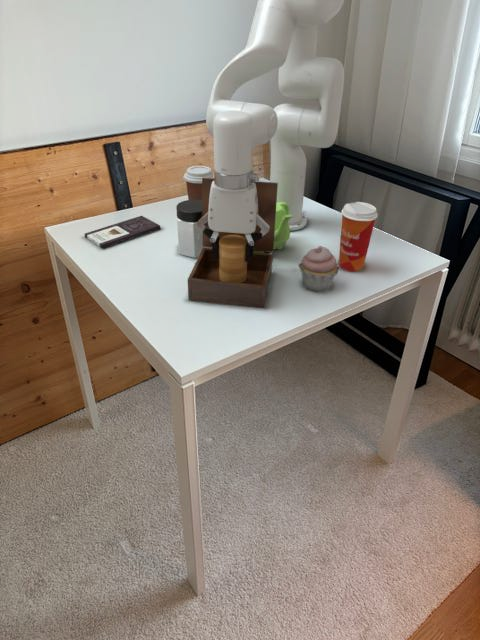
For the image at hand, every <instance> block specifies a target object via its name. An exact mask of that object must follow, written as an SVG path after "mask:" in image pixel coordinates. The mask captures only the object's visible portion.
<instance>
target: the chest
mask: <svg viewBox="0 0 480 640" xmlns="http://www.w3.org/2000/svg"><path fill="white" fill-rule="evenodd" d="M273 259H274V253H270V252H264V253H258V252H254V256H253V257H251V258H250V261H249V262H247V279H246V280H245V281H244V282H243V283H237V282H227V281H221V280H220V278H219V258H218V259H215V254H213V253H212V247H210V248H203V249H202V251H201V253H200V255H199V257H197V260H196V262H195V263H194V265H193V268H192V269H191V272H190V274H189V276H188V277H187V296H188V297H187V298H188V301H190V302H201V303H208V304H209V303H211V304H218V305H229V306H239V307H248V308H250V307H251V308H258V309H259V308H260V309H265V306H266V303H267V298H268V293H269V288H270V284H271V279H272V275H273V264H274V263H273V261H274V260H273Z"/></svg>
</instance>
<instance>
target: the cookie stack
mask: <svg viewBox="0 0 480 640" xmlns="http://www.w3.org/2000/svg"><path fill="white" fill-rule="evenodd" d="M246 245H247V239H246V238H245V237H243V236H239V235H227V236H224V237H222V238H220V239H219V278H220V280H221V281H227V282H237V283H243V282H244V281H245V280H246V279H247V261H246Z"/></svg>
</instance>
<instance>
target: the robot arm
mask: <svg viewBox="0 0 480 640" xmlns="http://www.w3.org/2000/svg"><path fill="white" fill-rule="evenodd" d="M344 2H345V0H257V3H256V7H255V11H254V14H253V18H252V23H251V26H250V30H249V34H248V37H247V41H246V45H245V47H244V48H243V49H242V50H241V51H240V52H239V53H237V54H236V55H235V56H234V57H233V58H232V59H230V61H229V62H228V63H227V64H226V65H225V66H224V67H223V68H222V70H221V71H219V73H218V75H217V77H216V78H215V80H214V83H213V86H212V88H211V93H210V96H209V101H208V103H207V109H206V115H205V125H206V129H207V131H208V133H209V135H210V136H212V137H213V173H214V181H213V182H212V184H211V189H210V197H209V210H208V212H207V213H206V214H205V215H204V216H203V217H202V218H201V219H199V220H198V222H197V226H198V227H199V228H200V229H201V230H202V231H203V232H204V234H205V235H206V236H207V237H208V238H209V239H210V241H211V242H212V247H211V248H212V253H213V254H215V259H218V258H219V239H220V237H219V236H218V234H219V232H227V233H240V234H245V236H246V239H247V241H248V242H247V245H246V261H247V262H249V261H250V258H251V257H253V256H254V243H256V242H257V241H258V240H259V239H261V238H262V236H264V235H265V234H266V233H267V232H269V230H270V226H269V225H268V224H267V223H266V222H265V221H264V220H263V219H262V218H261V217H260V216H259V215H258V198H257V189H256V184H255V183H254V182H253V181H260V173H256V172H254V169H253V148H254V147H258V146H262V145H265V144H267V143H268V142H270V171H269V172H270V173H269V182H274V183H278V189H277V203H278V202H285V203H286V204H287V205H288V206H289V213H288V215H292V216H293V217H291V218H290V219H289V221H288V222H289V228H290V232H291V231H292V232H293V231H298V230H301V229H303V228H304V227H305V226H306V225H307V224H308V218H307V217H306V215H304V214H303V206H304V196H305V184H306V174H307V165H308V164H307V157H306V153H305V152H304V150H303V148H302V147H310V148H319V149H327V148H330V147H332V146H333V145H334V143H335V142H336V139H337V137H338V131H339V126H340V125H339V124H340V118H341V109H342V103H343V102H342V101H343V93H344V85H345V68H344V65H343V63H342V62H341V61H340V59H337V58H334V57H330V56H329V57H327V56H317V43H318V29H317V27H322V26H325V25H326V24H328V23H329V22H330V21H331V20H332V19H333V18H334V17H335V16H336V15H338V13H339V12H340V10H341V9H342V8H343V7H342V6H343V5H344V4H345V3H344ZM277 70H278V75H277V76H278V77H277V79H278V81H277V82H278V90H279V93H280V94H281V95H282V96H284V97H286V98H291V99H297V100H298V99H299V100H306V101H307V100H308V101H316V102H319V103H320V106H317V105H308V104H307V105H306V104H300V103H298V104H297V103H281V104H278V105H276V106H274V108H273V107H272V106H270V105H268V104H264V103H256V102H248V101H240V100H231V99H232V97H233V96H234V94H235V93H236V91H238V89H239V88H240V87H242V86H243V85H244V84H246V83H248V82H251V80H255V79H257V78H259V77H261V76H264V75H267V74H269V73H272V72H275V71H277ZM281 207H282V208H283V210H284V206H281ZM207 221H208V225H209V226H207V225H206V222H207ZM256 225H258V226H259V227H260V228H261V229H260V230H259V231H257V232H256V233H255V234H254V232H255V229H256Z"/></svg>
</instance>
